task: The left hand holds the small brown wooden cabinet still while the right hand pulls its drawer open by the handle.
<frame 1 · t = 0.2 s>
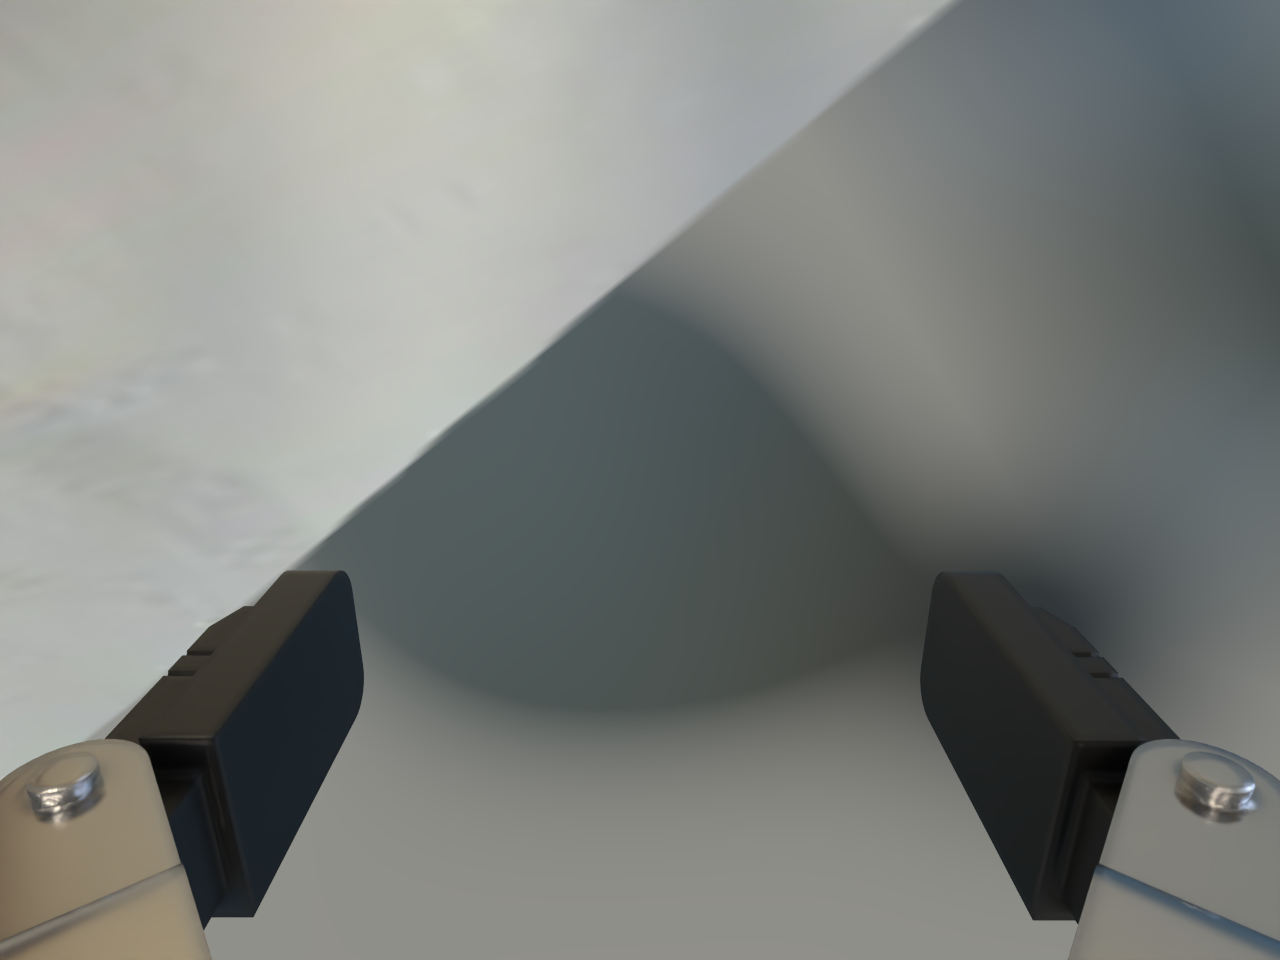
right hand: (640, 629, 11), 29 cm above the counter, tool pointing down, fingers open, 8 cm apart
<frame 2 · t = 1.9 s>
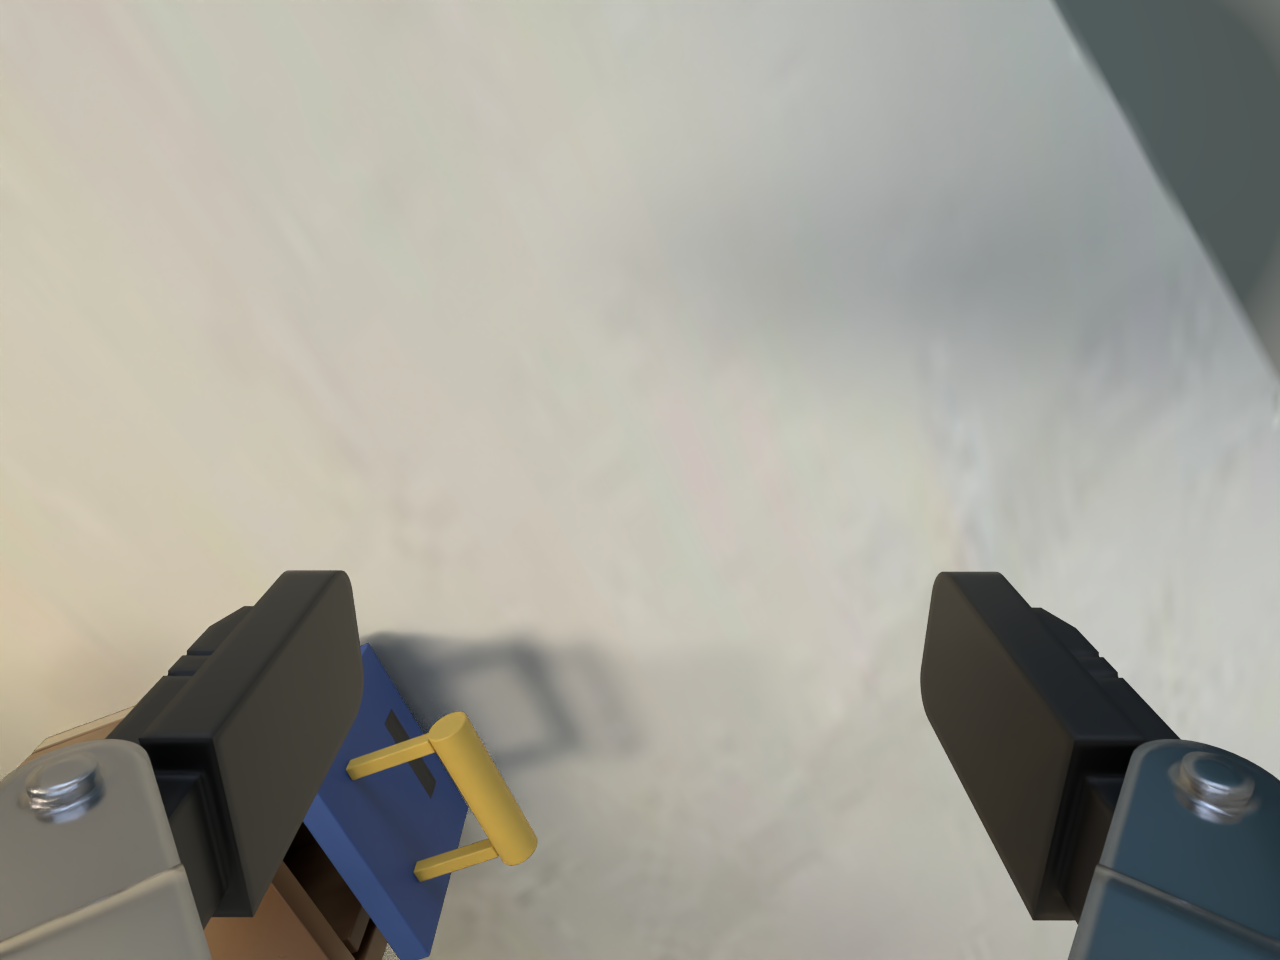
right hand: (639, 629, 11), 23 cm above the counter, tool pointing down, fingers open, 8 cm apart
cabinet: (241, 779, 41), on the counter
drawer: (311, 819, 35), point 5 cm above the counter, slide at 1.6 cm
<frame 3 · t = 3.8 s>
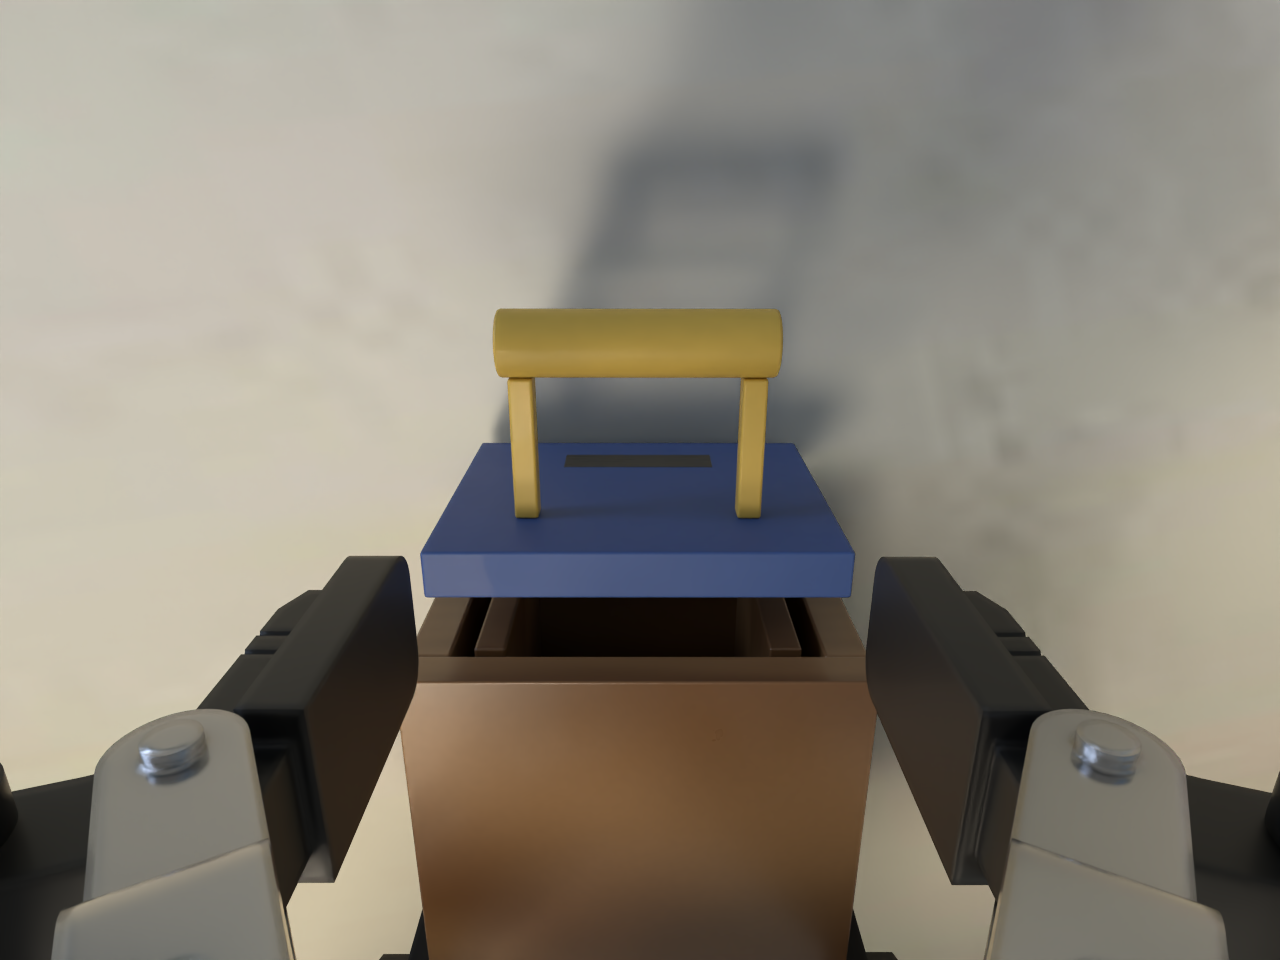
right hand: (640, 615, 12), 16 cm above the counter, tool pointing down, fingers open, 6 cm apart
cabinet: (638, 690, 31), on the counter, touching left hand
drawer: (638, 619, 24), point 5 cm above the counter, slide at 1.6 cm
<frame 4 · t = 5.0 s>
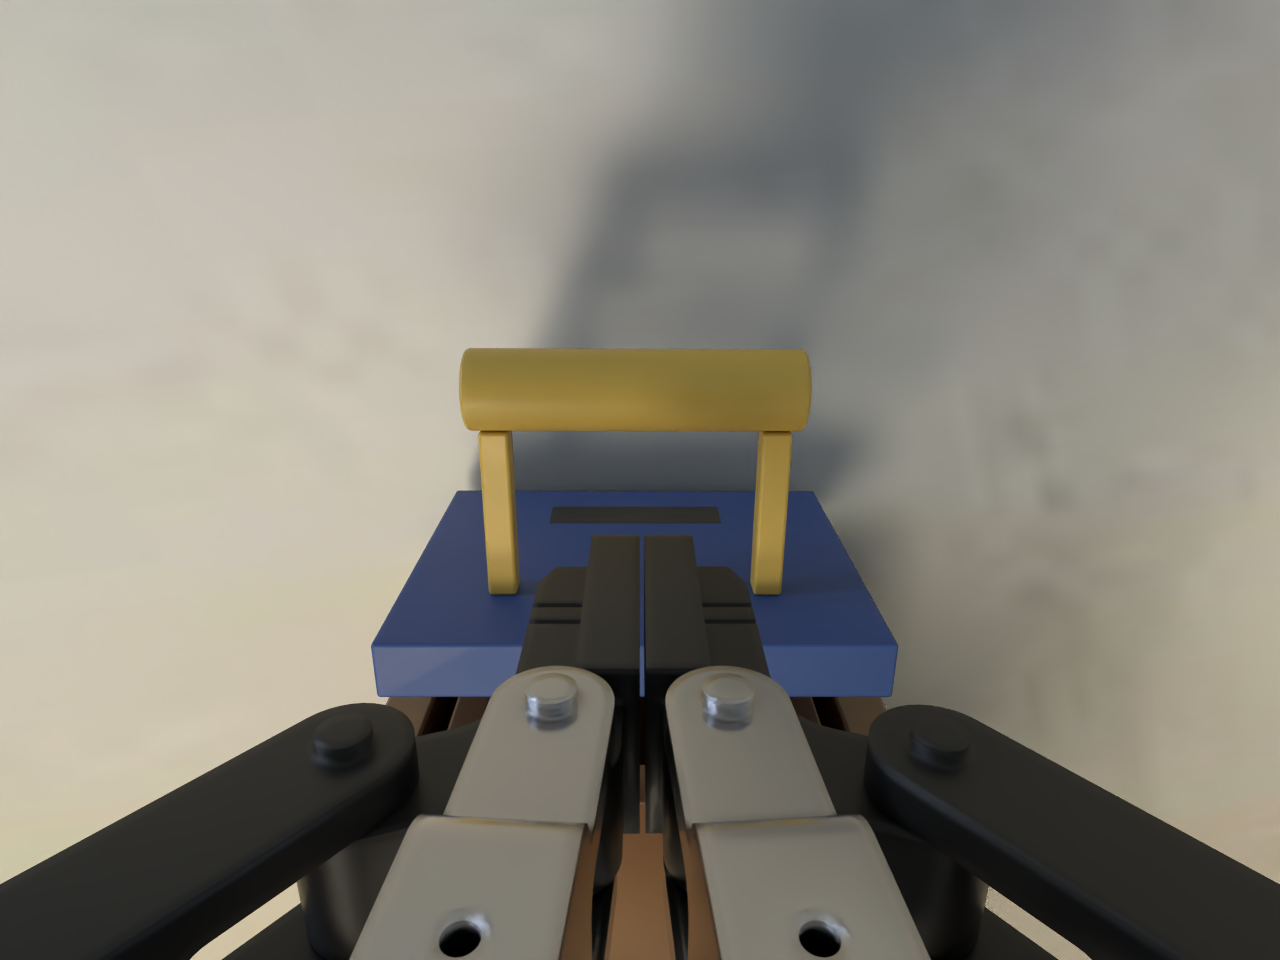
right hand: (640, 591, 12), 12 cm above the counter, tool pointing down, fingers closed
cabinet: (634, 761, 28), on the counter, touching left hand
drawer: (635, 700, 21), point 5 cm above the counter, slide at 1.6 cm
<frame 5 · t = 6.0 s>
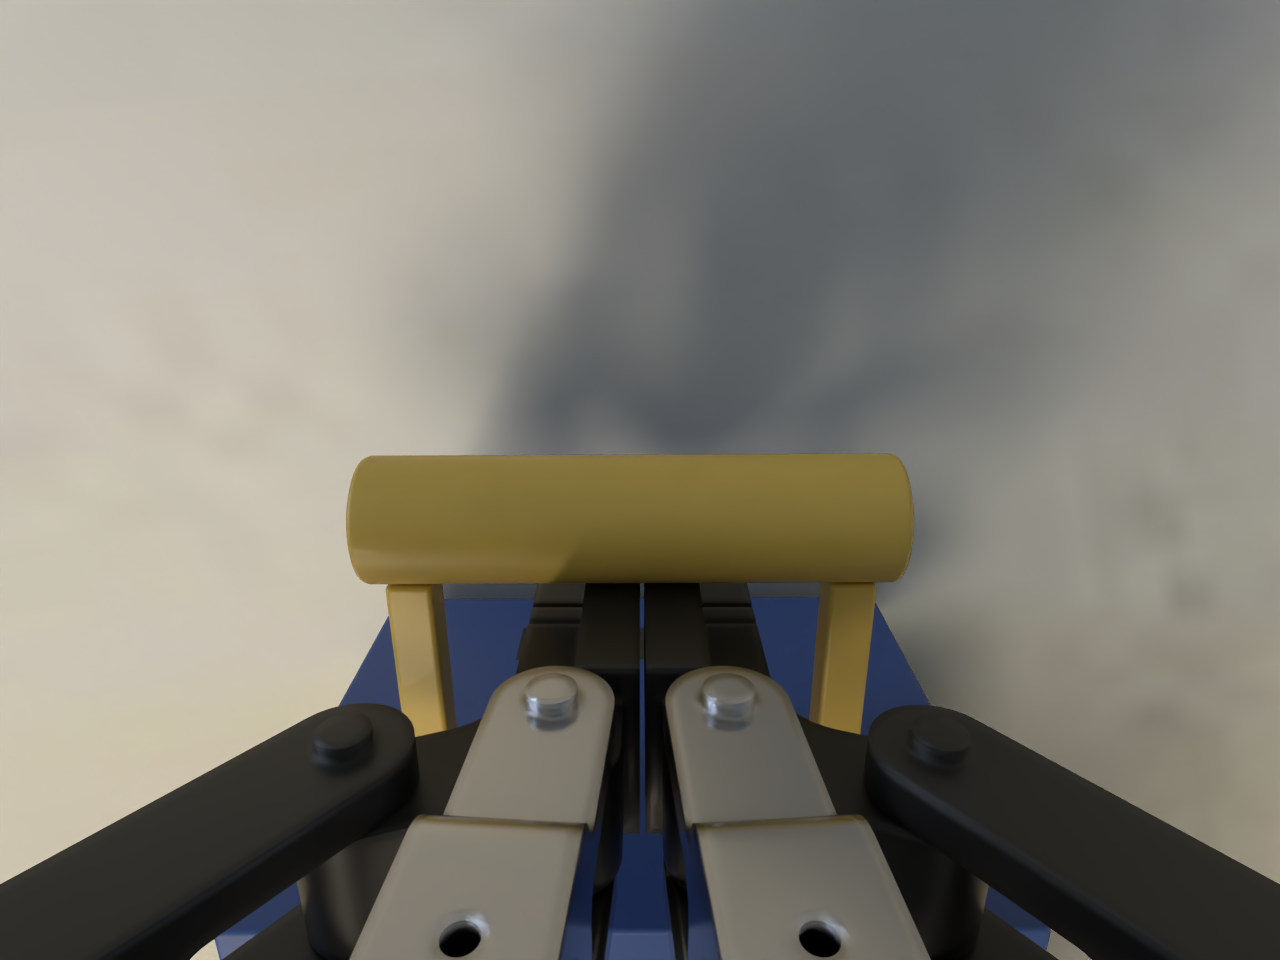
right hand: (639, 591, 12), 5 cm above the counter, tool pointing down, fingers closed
drawer: (635, 904, 15), point 5 cm above the counter, slide at 1.6 cm, touching right hand
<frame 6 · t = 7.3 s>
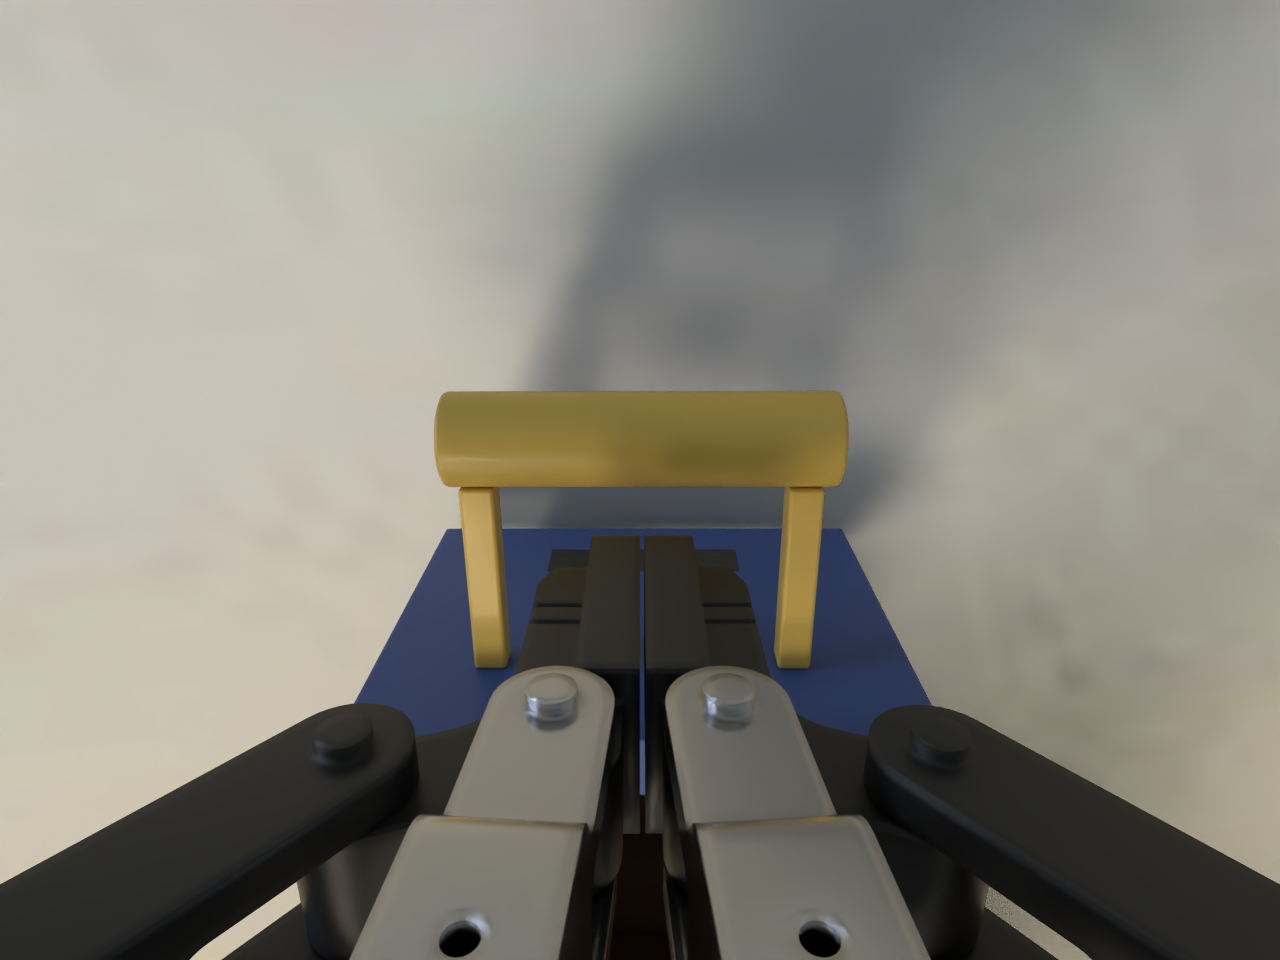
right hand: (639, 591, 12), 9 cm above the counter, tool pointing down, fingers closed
drawer: (643, 768, 19), point 5 cm above the counter, slide at 6.2 cm
when the left hand's fingers open (6 cm above the counter, at t = 8.5 s): cabinet stays where it is, on the counter.
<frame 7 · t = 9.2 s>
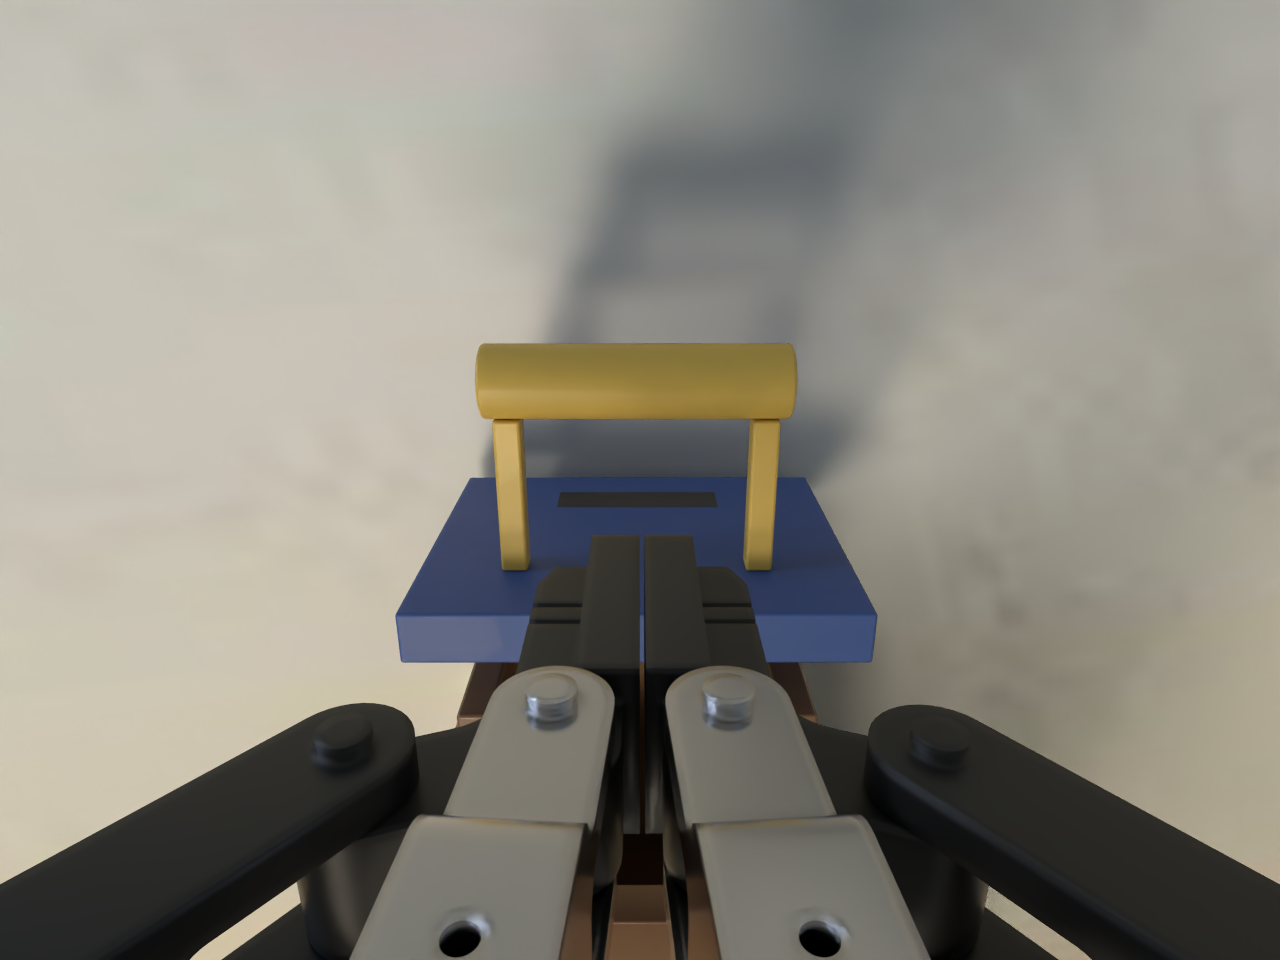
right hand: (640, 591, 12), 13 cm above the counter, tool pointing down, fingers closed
cabinet: (638, 836, 31), on the counter
drawer: (637, 672, 22), point 5 cm above the counter, slide at 6.2 cm
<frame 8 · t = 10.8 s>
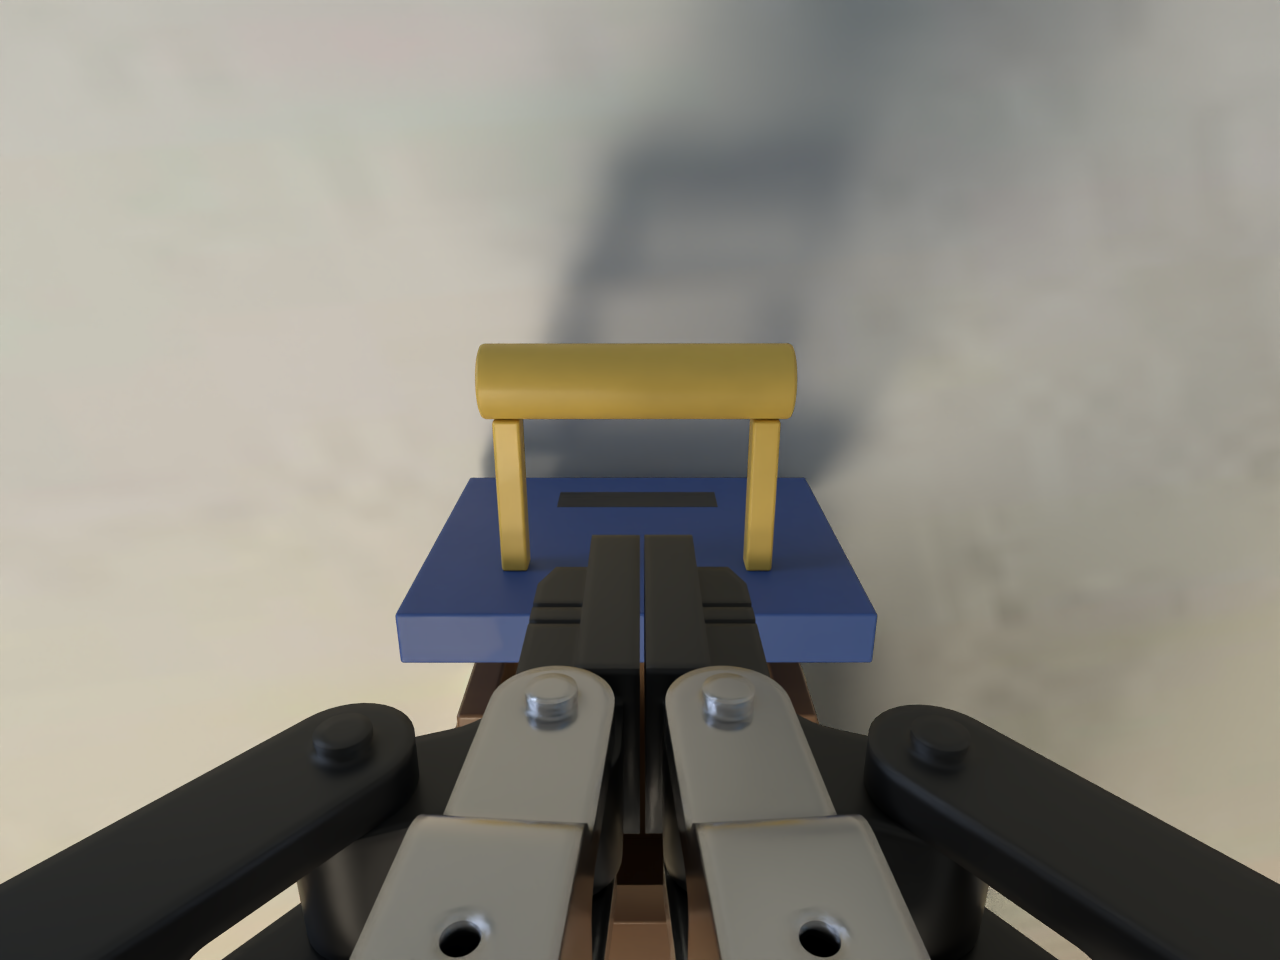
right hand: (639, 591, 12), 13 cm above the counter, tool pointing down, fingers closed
cabinet: (638, 836, 31), on the counter
drawer: (637, 672, 22), point 5 cm above the counter, slide at 6.2 cm
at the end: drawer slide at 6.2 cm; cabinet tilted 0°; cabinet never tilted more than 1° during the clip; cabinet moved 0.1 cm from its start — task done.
